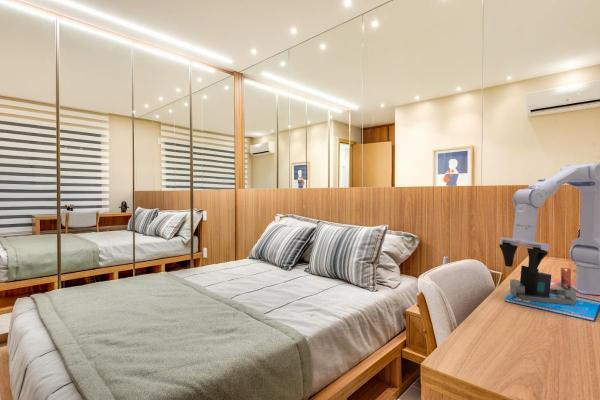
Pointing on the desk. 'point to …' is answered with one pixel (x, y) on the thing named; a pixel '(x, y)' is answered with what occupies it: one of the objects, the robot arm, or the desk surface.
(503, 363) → the desk surface
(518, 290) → the vise body
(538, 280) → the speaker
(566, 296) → the jaw slide
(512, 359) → the desk surface
